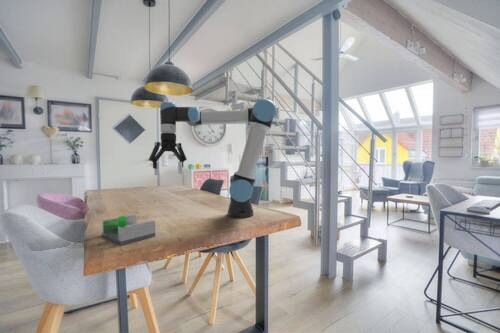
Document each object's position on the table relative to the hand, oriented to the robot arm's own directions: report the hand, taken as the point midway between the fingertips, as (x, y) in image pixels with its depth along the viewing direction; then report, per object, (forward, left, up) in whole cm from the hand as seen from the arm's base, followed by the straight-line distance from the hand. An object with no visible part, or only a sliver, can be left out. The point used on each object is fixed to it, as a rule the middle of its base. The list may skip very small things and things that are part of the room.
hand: (169, 174), depth 123 cm
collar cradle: (-6, +24, -25) cm, 35 cm away
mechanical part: (-6, +24, -23) cm, 34 cm away
